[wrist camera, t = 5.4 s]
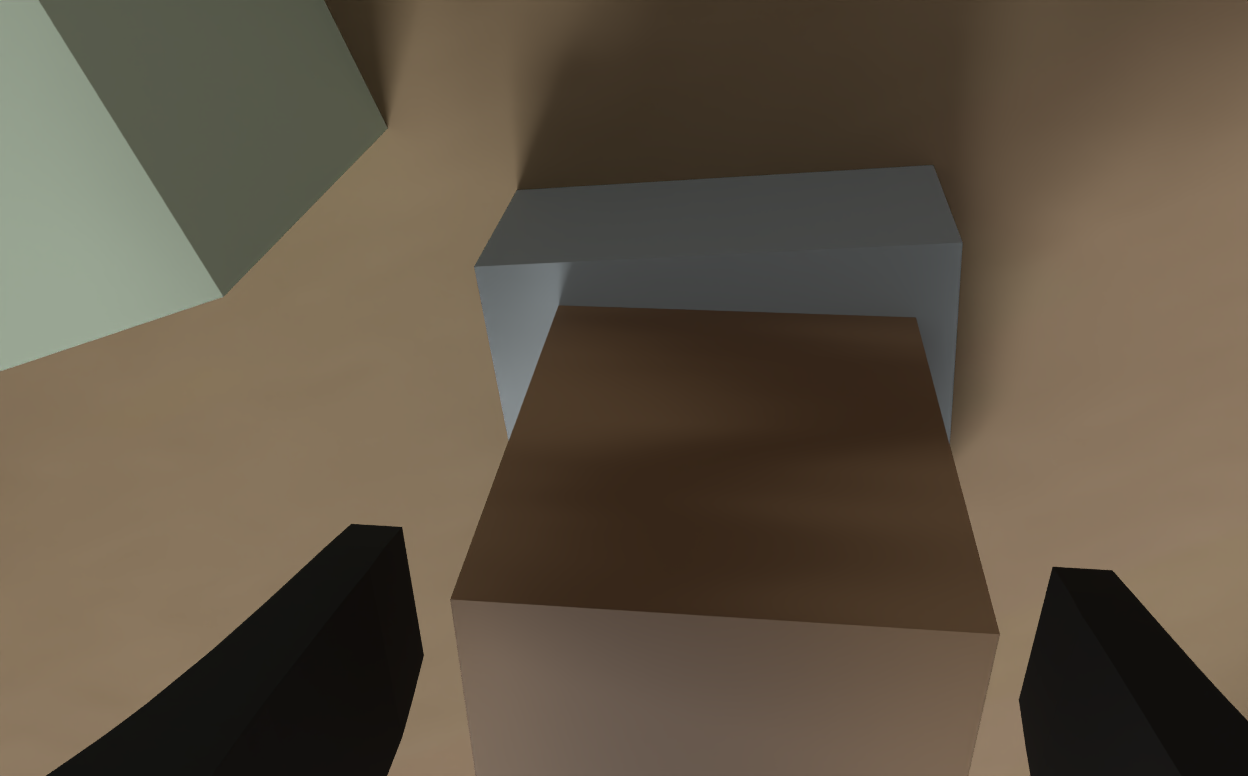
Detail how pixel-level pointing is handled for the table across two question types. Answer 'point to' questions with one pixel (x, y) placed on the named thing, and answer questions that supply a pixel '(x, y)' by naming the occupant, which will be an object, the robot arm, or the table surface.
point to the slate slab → (725, 257)
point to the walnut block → (725, 557)
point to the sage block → (159, 154)
